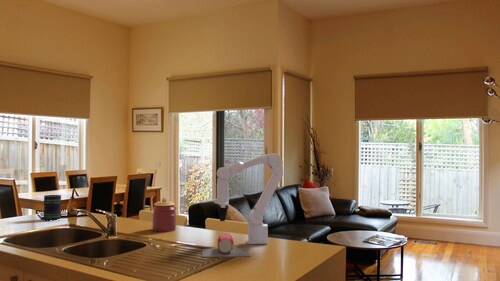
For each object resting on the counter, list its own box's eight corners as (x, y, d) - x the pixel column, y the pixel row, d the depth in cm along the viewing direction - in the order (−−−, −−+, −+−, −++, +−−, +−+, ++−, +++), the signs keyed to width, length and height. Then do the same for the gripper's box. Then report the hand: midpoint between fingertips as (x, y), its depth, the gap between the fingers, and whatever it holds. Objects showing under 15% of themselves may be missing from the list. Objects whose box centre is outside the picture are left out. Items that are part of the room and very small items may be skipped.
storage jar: (39, 220, 256) (40, 196, 256) (49, 218, 265) (50, 194, 266) (54, 221, 254) (55, 196, 254) (64, 218, 264) (64, 195, 264)
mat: (247, 248, 189) (247, 248, 189) (250, 256, 175) (250, 255, 175) (202, 249, 187) (202, 248, 187) (202, 257, 173) (202, 256, 173)
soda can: (226, 250, 189) (226, 257, 177) (214, 240, 189) (213, 246, 177) (236, 238, 190) (237, 245, 178) (224, 228, 189) (224, 234, 178)
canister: (179, 230, 230) (180, 198, 230) (157, 233, 222) (157, 199, 223) (170, 226, 240) (170, 195, 241) (148, 229, 233) (148, 197, 234)
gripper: (214, 190, 208) (213, 218, 207) (214, 194, 193) (214, 223, 193) (228, 190, 208) (228, 218, 208) (229, 194, 194) (229, 223, 194)
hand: (222, 220), depth 201 cm, fingers closed
